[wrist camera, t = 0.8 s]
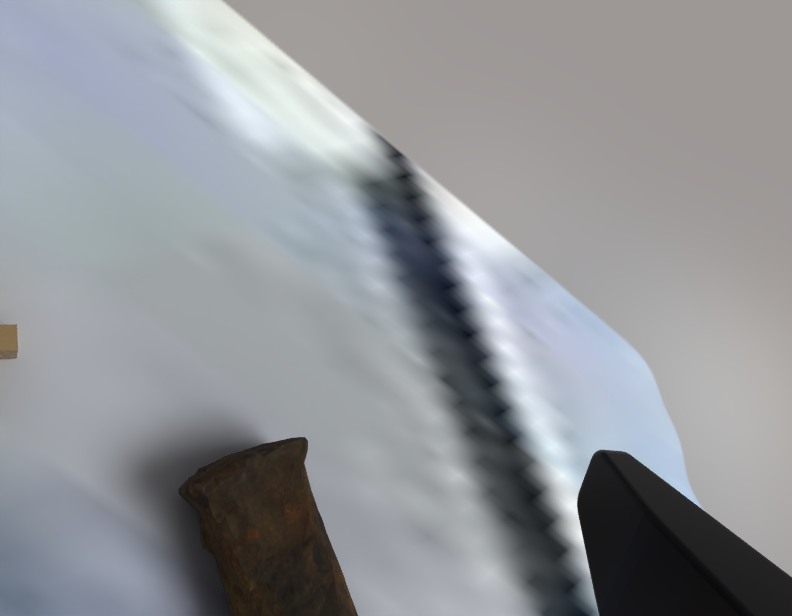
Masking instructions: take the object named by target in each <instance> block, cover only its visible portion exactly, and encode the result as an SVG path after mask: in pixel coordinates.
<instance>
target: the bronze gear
mask: <svg viewBox="0 0 792 616" xmlns="http://www.w3.org/2000/svg"><path fill="white" fill-rule="evenodd" d="M17 351H18V343H17V325H0V359H13V358H16V357H17Z"/></svg>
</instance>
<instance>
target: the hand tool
mask: <svg viewBox="0 0 792 616" xmlns="http://www.w3.org/2000/svg"><path fill="white" fill-rule="evenodd" d="M307 451H308V441H307V439H306V438H305V437H298V438H290V439H285V440H281V441H276V442H271V443H266V444H262V445H259V446H256V447H253V448H250V449H247V450H245V451H242V452H238V453H235V454H231V455H228V456H225V457H223V458H221V459H219V460H217V461H215V462H214V463H211V464H209V465H207V466H205V467H203V468H200V469H198V471H197V473H196V474H195V475H194V476H192V477H190V478H189V479H188V480H187V481H186V482H185V483H184V484H183V485H182V486H181V487H180V488H179V494H180V495H181V496H182V497H183V498H184V499H185V500H186V501H187V502H189V503H190V504H191V505H192V506H193V507H194V508H195V509H197V510H198V511H199V513H200V532H201V542H202V545H203V548H205V549H206V550H208V551H209V552H211V553H213V554H214V556H215V558H216V560H217V564H218V568H219V573H220V577H221V580H222V583H223V586H224V589H225V591H226V594H227V600H228V607H229V610H230V613H231V615H232V616H358V615H357V612H356V609H355V606H354V604H353V601H352V598H351V596H350V593H349V590H348V588H347V585H346V582H345V578H344V575H343V573H342V570H341V568H340V565H339V562H338V560H337V557H336V555H335V553H334V550H333V548H332V545H331V543H330V540H329V538H328V535H327V533H326V530H325V527H324V523H323V520H322V518H321V516H320V513H319V511H318V509H317V506H316V503H315V499H314V497H313V494H312V491H311V488H310V484H309V480H308V476H307V472H306V468H305V465H304V462H305V458H306V454H307Z"/></svg>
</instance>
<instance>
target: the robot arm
mask: <svg viewBox="0 0 792 616" xmlns="http://www.w3.org/2000/svg"><path fill="white" fill-rule="evenodd" d="M577 507H578V515H579V520H580V525H581V529H582V534H583V539H584V544H585V549H586V554H587V559H588V564H589V569H590V574H591V579H592V584H593V589H594V594H595V598H596V603H597V607H598V611H599V615H600V616H792V577H791V576H789V575H788V574H787V573H785V572H784V571H783V570H781V569H780V568H779V567H777V566H776V565H775V564H773V563H772V562H771V561H770V560H768V559H767V558H766V557H764V556H763V555H762V554H760V553H759V552H757V551H756V550H755V549H754V548H752V547H751V546H750V545H748V544H747V543H746V542H744V541H743V540H742V539H741V538H739V537H738V536H737V535H735V534H734V533H732V532H731V531H730V530H729V529H727V528H726V527H725V526H723V525H722V524H721V523H719V522H718V521H717V520H715V519H714V518H713V517H712V516H710V515H709V514H708V513H706V512H705V511H704V510H702V509H701V508H700V507H698V506H697V505H696V504H694V503H693V502H692V501H690V500H689V499H688V498H686V497H685V496H684V495H682V494H681V493H680V492H679V491H677V490H676V489H675V488H673V487H672V486H671V485H669V484H668V483H667V482H665V481H664V480H663V479H661V478H660V477H659V476H657V475H656V474H655V473H653V472H652V471H651V470H650V469H648V468H647V467H646V466H644V465H643V464H642V463H640V462H639V461H638V460H636V459H635V458H634V457H632V456H631V455H630V454H628V453H626V452H622V451H611V450H599V451H597V452H595V454H594V455H593V457H592V459H591V461H590V464H589V466H588V469H587V472H586V475H585V477H584V480H583V483H582V486H581V488H580V491H579V494H578V501H577Z"/></svg>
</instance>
